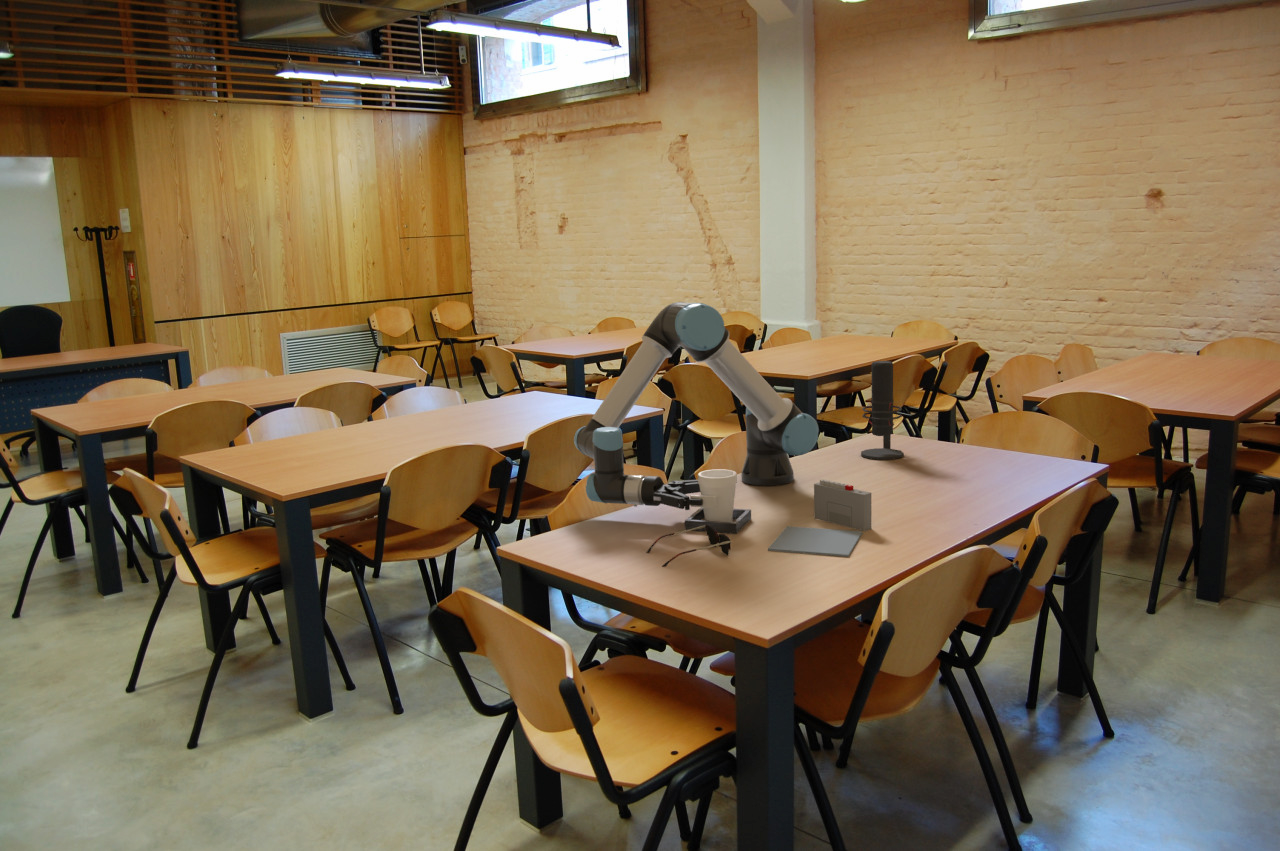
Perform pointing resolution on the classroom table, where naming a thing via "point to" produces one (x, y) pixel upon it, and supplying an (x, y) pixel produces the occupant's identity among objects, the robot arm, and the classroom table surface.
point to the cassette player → (842, 505)
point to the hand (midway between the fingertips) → (725, 495)
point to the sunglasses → (713, 539)
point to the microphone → (882, 411)
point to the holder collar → (721, 527)
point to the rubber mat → (816, 541)
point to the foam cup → (718, 493)
